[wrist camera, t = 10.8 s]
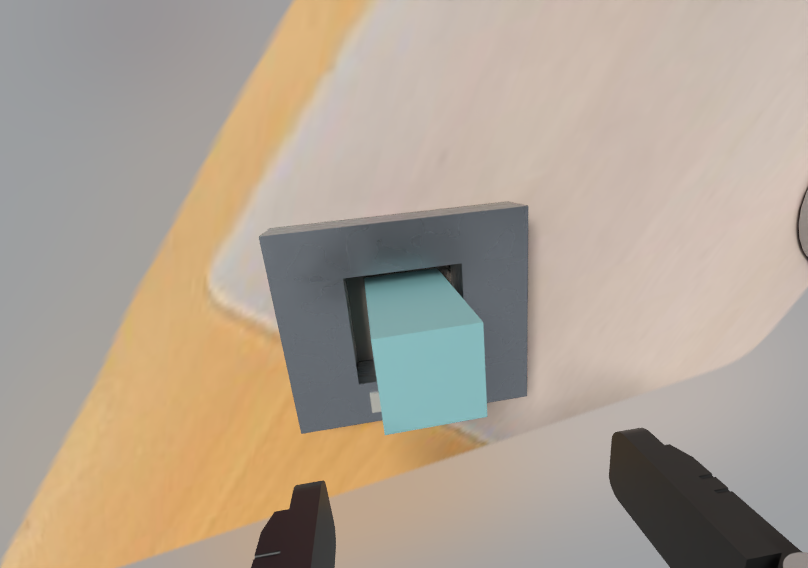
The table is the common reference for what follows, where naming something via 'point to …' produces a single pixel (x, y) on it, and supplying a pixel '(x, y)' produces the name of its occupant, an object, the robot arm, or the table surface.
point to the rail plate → (383, 253)
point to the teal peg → (425, 351)
